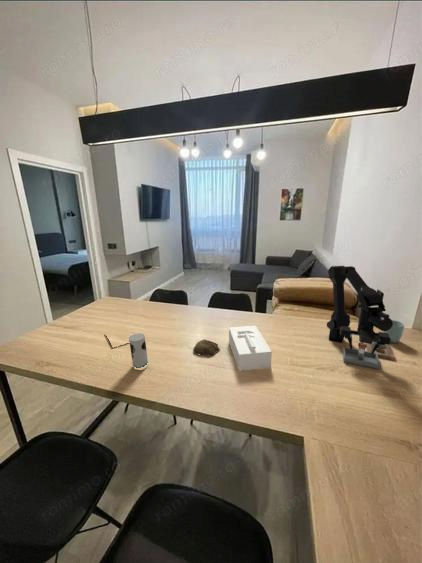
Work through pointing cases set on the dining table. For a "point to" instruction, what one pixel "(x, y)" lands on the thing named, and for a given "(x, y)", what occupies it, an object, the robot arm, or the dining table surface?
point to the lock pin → (361, 351)
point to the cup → (395, 331)
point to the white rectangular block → (249, 348)
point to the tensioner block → (382, 348)
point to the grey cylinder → (138, 350)
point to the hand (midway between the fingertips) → (361, 351)
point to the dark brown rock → (206, 348)
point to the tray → (368, 360)
